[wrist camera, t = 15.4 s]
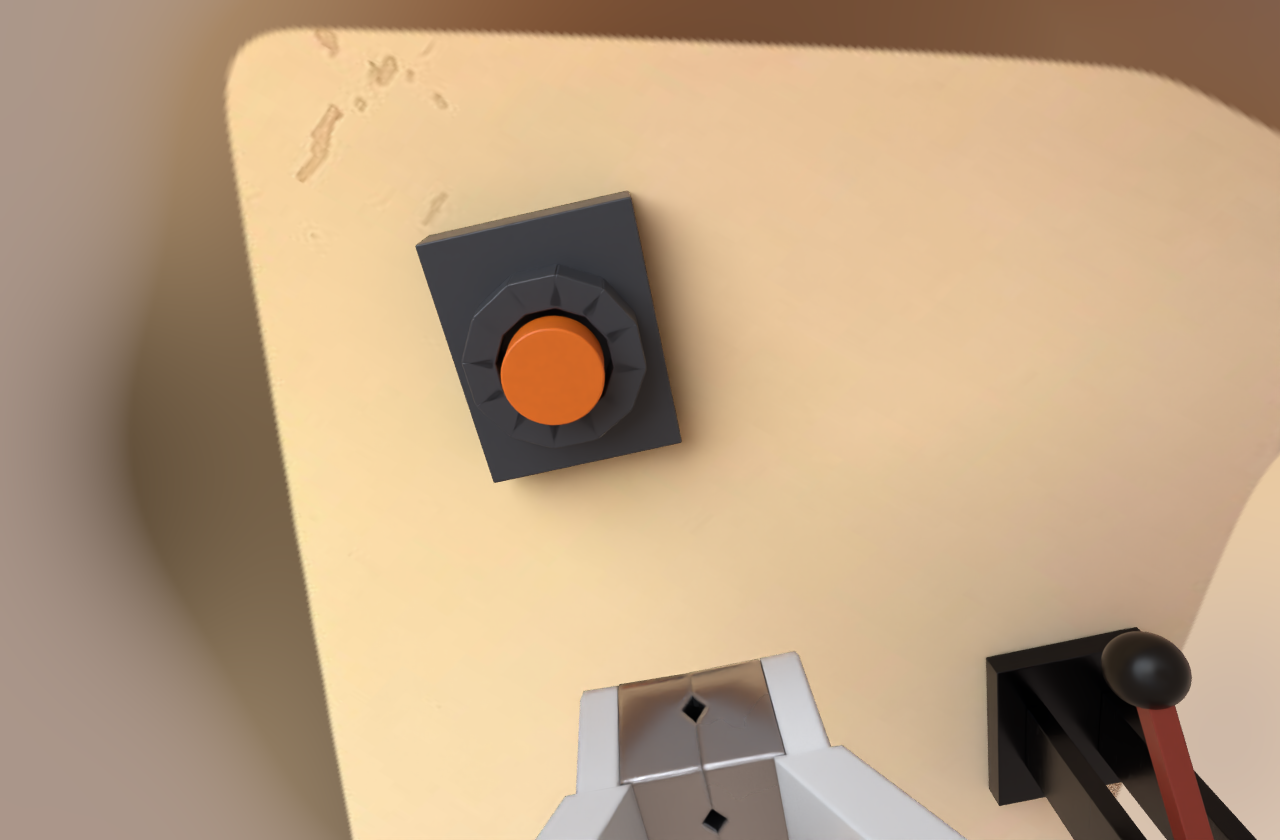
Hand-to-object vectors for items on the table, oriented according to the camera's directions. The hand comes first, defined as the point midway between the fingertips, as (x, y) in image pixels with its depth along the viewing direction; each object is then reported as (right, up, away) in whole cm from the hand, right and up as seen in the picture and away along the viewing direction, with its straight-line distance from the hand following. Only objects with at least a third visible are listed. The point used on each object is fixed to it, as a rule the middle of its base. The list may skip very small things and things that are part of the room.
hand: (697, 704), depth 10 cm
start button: (-4, +6, +17) cm, 18 cm away
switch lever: (+22, -12, +22) cm, 33 cm away
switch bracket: (+22, -12, +30) cm, 39 cm away
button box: (-4, +7, +20) cm, 22 cm away
